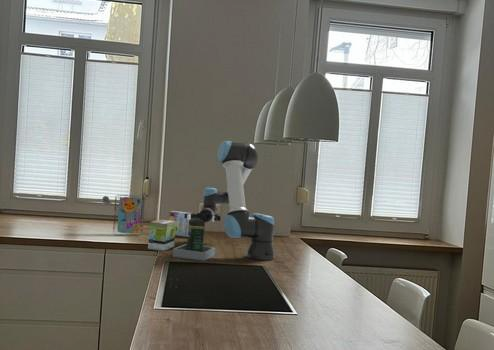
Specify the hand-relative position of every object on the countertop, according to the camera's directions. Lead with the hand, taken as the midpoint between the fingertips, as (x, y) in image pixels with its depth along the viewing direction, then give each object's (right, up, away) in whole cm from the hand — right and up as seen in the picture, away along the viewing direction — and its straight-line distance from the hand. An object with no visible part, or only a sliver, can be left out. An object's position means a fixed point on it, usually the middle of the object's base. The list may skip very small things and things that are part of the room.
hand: (200, 218), depth 278 cm
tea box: (-22, -17, +3) cm, 27 cm away
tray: (-2, -18, -12) cm, 22 cm away
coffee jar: (-2, -17, -12) cm, 21 cm away
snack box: (-15, -16, +51) cm, 56 cm away
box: (-51, -13, +35) cm, 63 cm away
